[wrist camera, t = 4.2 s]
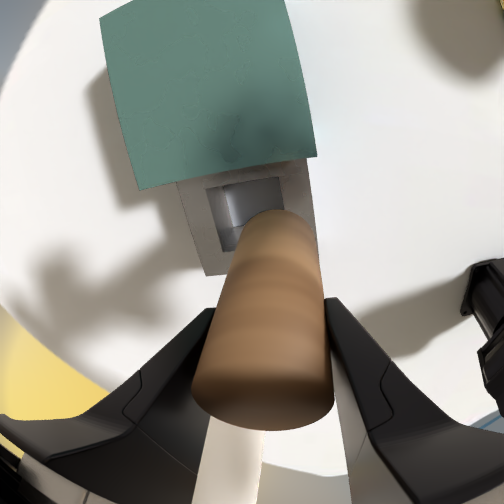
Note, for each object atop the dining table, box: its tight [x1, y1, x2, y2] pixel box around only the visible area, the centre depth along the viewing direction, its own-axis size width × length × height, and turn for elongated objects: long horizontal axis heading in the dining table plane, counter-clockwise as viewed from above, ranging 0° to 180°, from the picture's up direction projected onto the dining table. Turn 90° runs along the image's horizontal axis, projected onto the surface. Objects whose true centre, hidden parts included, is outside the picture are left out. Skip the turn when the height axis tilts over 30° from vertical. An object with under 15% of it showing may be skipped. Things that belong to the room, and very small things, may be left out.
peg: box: [191, 209, 335, 431], centre depth 10 cm, size 4×4×8 cm
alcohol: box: [192, 416, 265, 504], centre depth 25 cm, size 9×9×30 cm
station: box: [99, 0, 319, 276], centre depth 16 cm, size 19×10×6 cm, turn 12°
